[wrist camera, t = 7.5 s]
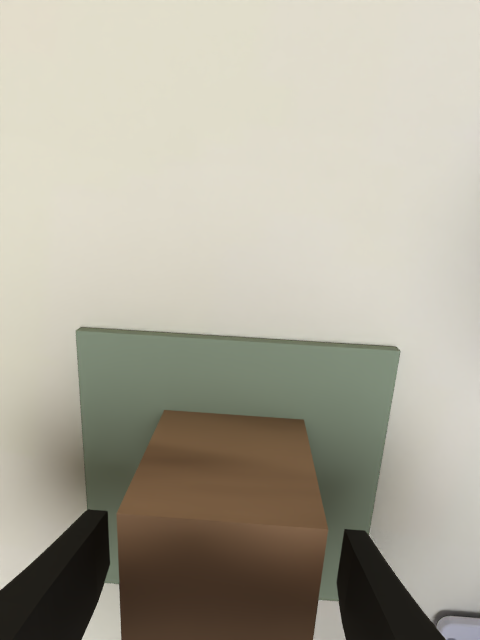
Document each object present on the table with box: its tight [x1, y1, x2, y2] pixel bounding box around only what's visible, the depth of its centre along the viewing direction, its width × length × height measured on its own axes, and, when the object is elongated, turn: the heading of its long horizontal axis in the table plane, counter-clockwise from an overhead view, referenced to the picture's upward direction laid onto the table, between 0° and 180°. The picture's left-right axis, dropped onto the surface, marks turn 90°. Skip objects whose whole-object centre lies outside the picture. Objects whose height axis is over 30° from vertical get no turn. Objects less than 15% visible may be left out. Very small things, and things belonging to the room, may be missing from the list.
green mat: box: [76, 327, 400, 601], centre depth 15 cm, size 11×11×1 cm
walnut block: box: [117, 410, 328, 640], centre depth 12 cm, size 5×5×5 cm
